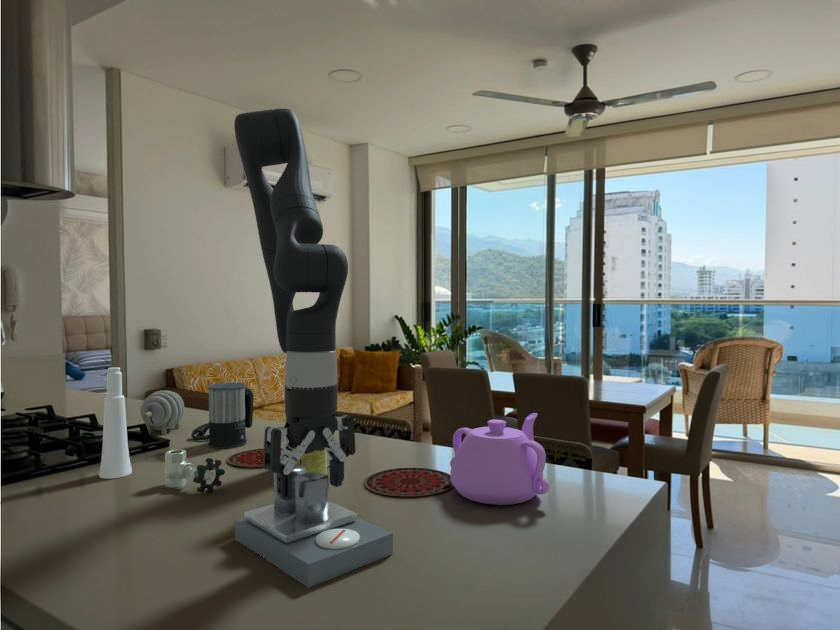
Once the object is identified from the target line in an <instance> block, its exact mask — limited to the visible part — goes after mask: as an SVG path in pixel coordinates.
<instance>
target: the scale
mask: <svg viewBox="0 0 840 630" xmlns="http://www.w3.org/2000/svg"><path fill="white" fill-rule="evenodd" d="M393 536H394V534H393V533H392V532H390V531H388V530H386V529H384V528H382V527H379V526H378V525H374V524H373V523H372V522H371V523H370V522H368V521H366V520H364V519H361V518H359V517H357V520H355V521H352V522H349V523H346V524H343V525H340V526H337V527H334V528H331V529H328V530H325V531H322V532H319V533H316V534H313V535H310V536H307V537H304V538H301V539H297V540H294V541H291V542H288V543H285V542H283V541H282V540H280V539H278V538H277V537H275V536H273V535H272V534H270V533H268V532H266V531H265V530H263V529H261V528H260V527H258V526H256V525H254V524H253V523H251V522H249V521H248V520H246V519H244V517H241V518H238V519H234V540H235V541H236V542H238V543H239V542H240V543H239V544H241V545H242V544H243V545H242V546H244V547H245V546H246V547H245V548H247V549H249V550H250V549H251V550H250V551H252V552H253V551H254V552H253V553H255V554H256V553H257V554H256V555H258V554H259V555H260V557H261V556H262V557H263V558H262V557H261V558H262V559H264V558H265V559H266V561H267V562H268V561H269V563H270V564H271V563H272V565H273V566H274V565H275V566H274V567H276V568H277V567H278V568H277V569H279V570H281V571H282V572H283V573H285V574H286V575H289V576H290V577H292V578H293V579H294V580H296V581H297V582H299V583H300V584H302V585H304V586H305V587H306V588H308V589H310V588H312V587H314V586H317V585H319V584H322V583H324V582H327V581H330V580H332V579H335V578H337V577H339V576H343V575H344V573H345V574H348V573H350V572H352V571H354V569H355V570H356V569H359V567H360V568H362V567H364V565H365V566H367V565H369V564H372V563H374V562H376V561H379V560H381V559H385V558H387V557H389V556H392V555H393V554H394V553H393V552H394V551H393V549H394V548H393V547H394V544H393V543H394V537H393ZM259 555H258V556H259ZM265 559H264V560H265ZM351 570H352V571H351ZM349 571H350V572H349Z"/></svg>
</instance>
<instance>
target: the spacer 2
mask: <svg viewBox="0 0 840 630" xmlns="http://www.w3.org/2000/svg"><path fill="white" fill-rule="evenodd" d="M329 493H330V491H329V475H328V473H327V474H324V473H316V472H314V473H304V474H300V475H298V476H296V477H295V520H296V522H298V523H301V524H318V523H322V522H324V521H326V520H327V519H328V517H329V501H330V500H329Z"/></svg>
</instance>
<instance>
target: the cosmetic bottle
mask: <svg viewBox="0 0 840 630" xmlns="http://www.w3.org/2000/svg"><path fill="white" fill-rule="evenodd" d="M107 371H108V372H107V373H106V396H105V397H104V401H103V402H104V403H103V423H102V424H103V427H102V429H103V430H102V447H101V448H102V450H101V460H100V467H99V472H98V477H99V478H101V479H104V480H108V479H109V480H112V479H120V478H124V477H128V476H130V475H131V474H132V473H133V469H132V464H131V459H130V452H129V442H128V441H129V440H128V429H127V414H126V413H127V411H126V399H125V395H123V373H122V371H121V367H117V366H113V367H112V366H111V367H108V368H107Z"/></svg>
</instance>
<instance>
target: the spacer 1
mask: <svg viewBox="0 0 840 630" xmlns="http://www.w3.org/2000/svg"><path fill="white" fill-rule="evenodd" d="M304 473H306V467H305V466H303V465H298V464H295V465H294V467H293V469H292V470H291V472H290V474H292V499H291V500H288V501H286V500H284V499H282V498H281V497H280V496H279V495H278V493H277V474H276V473H273V504H274V510H275V511H276V512H280V513H294V512H295V477H296V476H298V475H300V474H304Z"/></svg>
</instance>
